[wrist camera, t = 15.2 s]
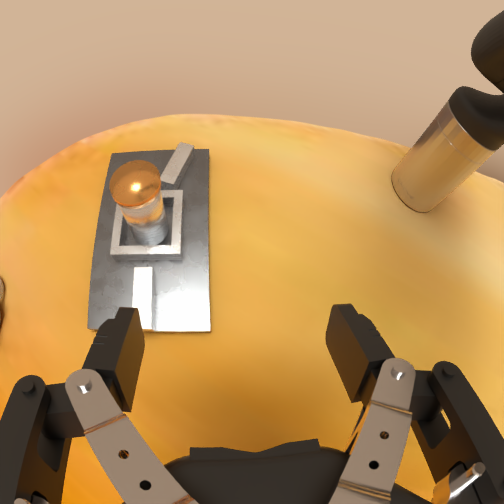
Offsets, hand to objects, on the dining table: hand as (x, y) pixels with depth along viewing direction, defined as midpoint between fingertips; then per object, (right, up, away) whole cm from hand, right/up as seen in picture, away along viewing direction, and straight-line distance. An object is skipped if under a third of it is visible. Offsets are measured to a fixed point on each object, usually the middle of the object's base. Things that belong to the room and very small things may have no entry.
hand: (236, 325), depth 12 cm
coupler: (-11, +6, +22) cm, 26 cm away
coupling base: (-12, +5, +24) cm, 27 cm away
